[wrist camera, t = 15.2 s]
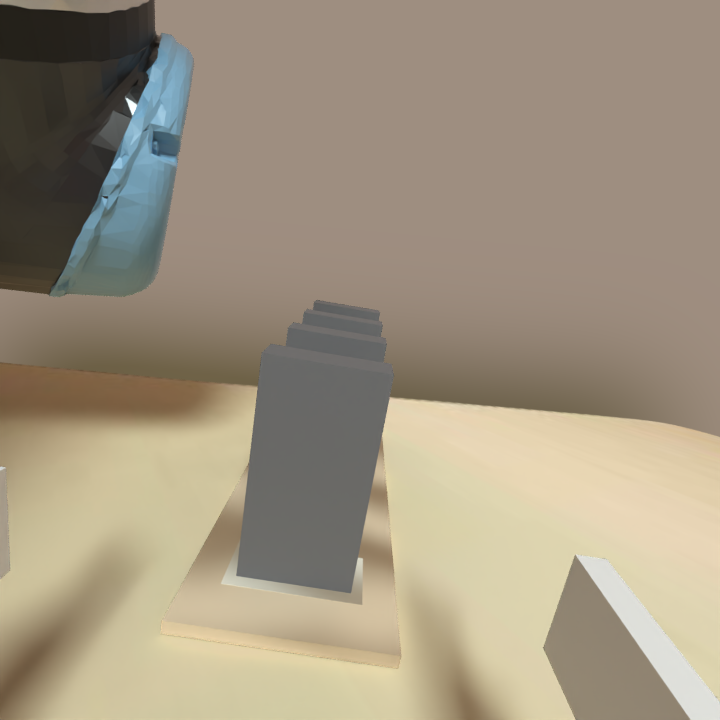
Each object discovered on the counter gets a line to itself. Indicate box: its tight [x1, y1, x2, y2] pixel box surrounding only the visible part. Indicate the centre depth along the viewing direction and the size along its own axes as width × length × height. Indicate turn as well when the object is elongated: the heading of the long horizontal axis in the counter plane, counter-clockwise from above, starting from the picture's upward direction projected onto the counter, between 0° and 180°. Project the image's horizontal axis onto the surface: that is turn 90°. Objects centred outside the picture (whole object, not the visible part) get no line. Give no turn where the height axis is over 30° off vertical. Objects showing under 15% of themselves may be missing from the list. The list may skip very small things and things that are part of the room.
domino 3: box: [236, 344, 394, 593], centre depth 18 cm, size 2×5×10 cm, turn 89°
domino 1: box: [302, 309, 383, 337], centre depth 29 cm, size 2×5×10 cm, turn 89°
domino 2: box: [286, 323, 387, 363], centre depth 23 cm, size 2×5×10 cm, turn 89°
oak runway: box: [161, 438, 401, 668], centre depth 27 cm, size 24×9×1 cm, turn 179°
